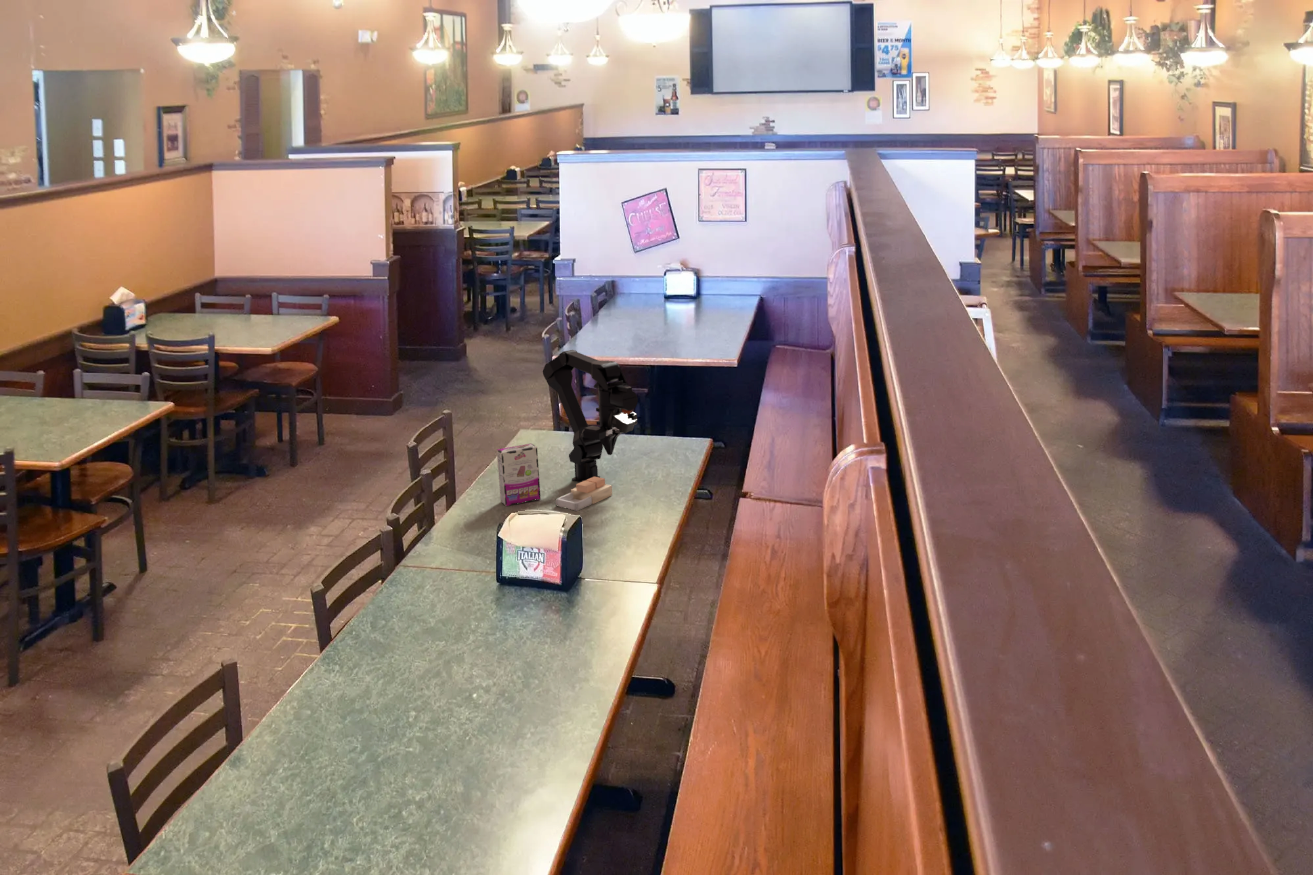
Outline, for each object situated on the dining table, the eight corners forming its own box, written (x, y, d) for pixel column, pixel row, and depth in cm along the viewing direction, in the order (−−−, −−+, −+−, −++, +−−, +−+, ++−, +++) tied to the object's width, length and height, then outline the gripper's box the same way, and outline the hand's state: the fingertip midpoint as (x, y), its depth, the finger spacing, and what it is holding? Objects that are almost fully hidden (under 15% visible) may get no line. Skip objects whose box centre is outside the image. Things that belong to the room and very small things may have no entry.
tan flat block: (571, 499, 337) (570, 489, 336) (591, 490, 344) (590, 481, 343) (592, 504, 332) (592, 494, 332) (612, 495, 340) (611, 485, 339)
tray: (555, 506, 331) (555, 498, 331) (571, 499, 337) (570, 492, 336) (576, 510, 327) (576, 503, 326) (591, 504, 333) (591, 496, 332)
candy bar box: (534, 495, 341) (531, 442, 337) (541, 500, 337) (538, 446, 332) (499, 501, 336) (496, 448, 332) (505, 506, 332) (502, 452, 327)
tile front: (576, 490, 335) (576, 484, 335) (585, 486, 338) (584, 480, 338) (587, 493, 333) (586, 486, 332) (595, 489, 336) (595, 482, 335)
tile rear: (586, 486, 339) (585, 480, 338) (594, 482, 342) (594, 476, 341) (596, 488, 336) (596, 482, 336) (605, 485, 339) (604, 478, 339)
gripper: (610, 415, 327) (612, 467, 331) (648, 401, 341) (649, 451, 346) (580, 409, 333) (582, 461, 337) (619, 396, 347) (620, 445, 352)
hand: (609, 454), depth 343 cm, fingers closed
